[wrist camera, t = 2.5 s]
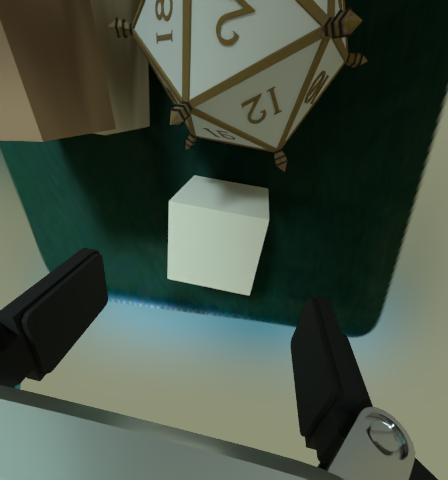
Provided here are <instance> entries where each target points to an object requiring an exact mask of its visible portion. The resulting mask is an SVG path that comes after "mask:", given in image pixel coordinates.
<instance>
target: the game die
mask: <svg viewBox="0 0 448 480" xmlns="http://www.w3.org/2000/svg"><path fill="white" fill-rule="evenodd" d="M362 21H363V20H362V19H360V18H359V17H358V16H357V15H356V14H355V12H354V11H353V9H352V8H351V6H349V7H348V8H347V9H346V10H345V0H141V2H140V4H139V7H138V10H137V13H136V15H135V18H134V21H133V23H131V24H130V23H128V22H126V21H125V19H122V20H119V19H118V18H117V17H116V19H115V20H114V21H113V22H112V23H111V24H110V25H108V26H107V27H108V28H109V29H110V30H111V31H112V32H114V33H115V34H116V35H117V37H118V38H120V37H121V36H122V37H124V38H127V37H128V36H133V37H134V38H135V40H136V42H137V43H138V45H139V47H140V48H141V50H142V52H143V53H144V55H145V57H146V59H147V60H148V62H149V64H150V65H151V67H152V69H153V70H154V72H155V74H156V75H157V77H158V79H159V80H160V82H161V84H162V86H163V87H164V89H165V91H166V92H167V94H168V96H169V97H170V99H171V101H172V102H173V104H174V108H170V125H179V126H181V125H182V124H183V123H185V124H186V126H187V128H188V129H189V131H190V133H191V134H190V135H188V136H187V139H185V145H186V150H187V149H189V148H192V147H195V143H197V142H196V139H197V137H198V138H203V139H208V140H213V141H218V142H223V143H228V144H233V145H238V146H243V147H248V148H253V149H259V150H264V151H269V152H273V153H274V155H275V159H273V160H274V161H275V162H276V165H275V166H277V167H279V168H280V169H281V170H283V171H284V172H285V169H286V165H287V161H288V160H287V159H286V154H284V153H283V151H282V148H283V147H284V145H285V144H286V142H287V141H288V140H289V138H290V137H291V136H292V134H293V133H294V132H295V130H296V129H297V128H298V126H299V125H300V124H301V122H302V121H303V119H304V118H305V117H306V115H307V114H308V113H309V111H310V110H311V109H312V107H313V106H314V105H315V103H316V102H317V101H318V99H319V98H320V97H321V95H322V94H323V92H324V91H325V90H326V88H327V87H328V86H329V84H330V83H331V82H332V80H333V79H334V78H335V76H336V75H337V74H338V72H339V71H340V69H341V68H342V67H343V65H344V64H346V65H348V68H350V67H354V69H356V68H357V67H359V66H360V65H362V64H364V63H366V62H368V61H367V59H366V58H365V57H364V53H362V52H361V51H359V53H357V52H355V51H353V53H349V54H348V41H347V37H348V36H352V33H353V31H354V30H355V29H356V27H357V26H358V25H359V24H360V23H361V22H362Z"/></svg>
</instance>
